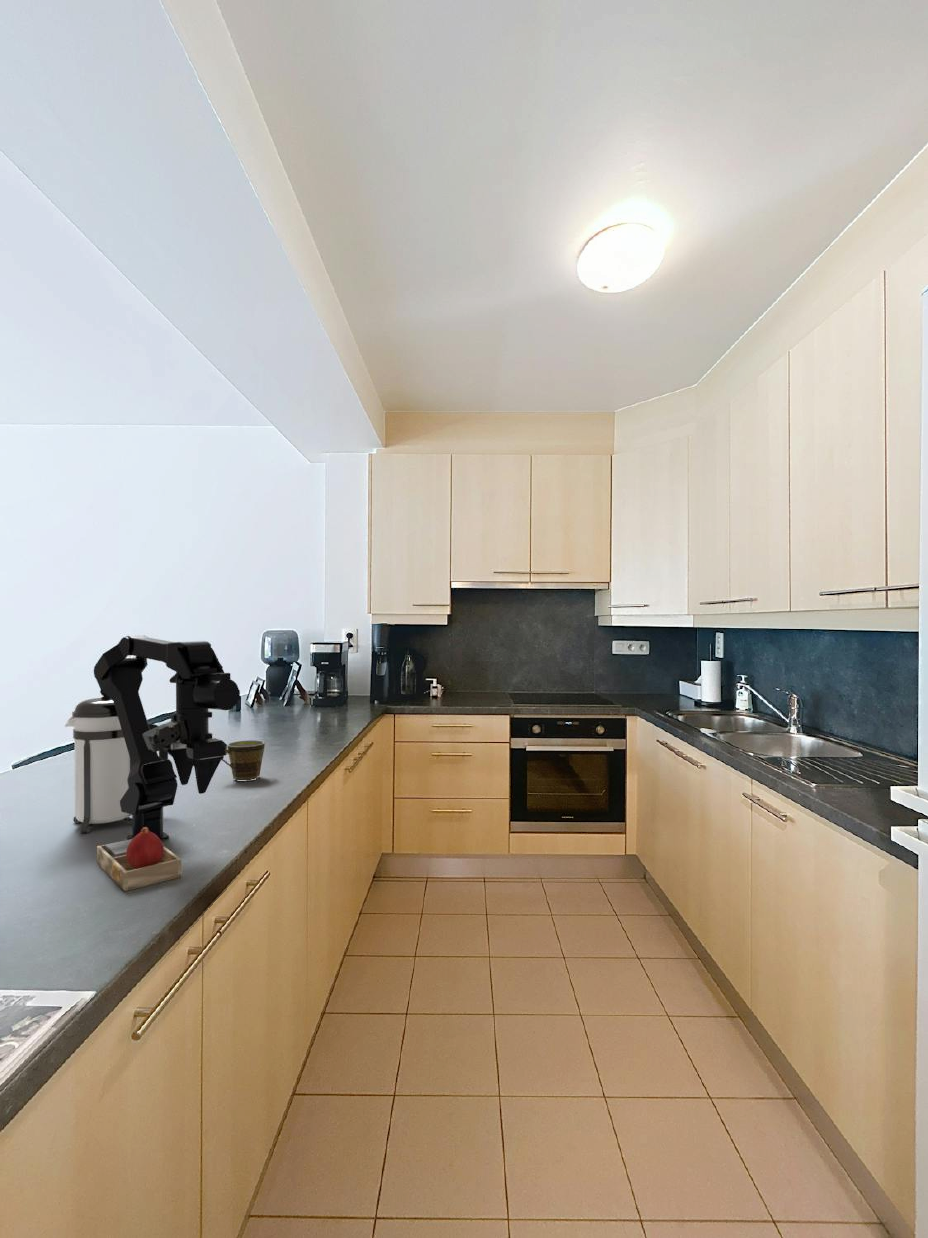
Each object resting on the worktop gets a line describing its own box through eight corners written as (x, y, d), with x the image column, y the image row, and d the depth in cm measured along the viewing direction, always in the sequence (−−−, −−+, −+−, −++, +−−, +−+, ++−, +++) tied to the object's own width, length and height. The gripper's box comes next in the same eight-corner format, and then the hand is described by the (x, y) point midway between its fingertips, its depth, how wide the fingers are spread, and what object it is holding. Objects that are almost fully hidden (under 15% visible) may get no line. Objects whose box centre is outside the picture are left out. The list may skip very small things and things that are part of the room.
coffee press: (116, 836, 135) (115, 690, 135) (49, 832, 138) (49, 689, 138) (170, 812, 152) (169, 682, 152) (109, 809, 155) (109, 682, 155)
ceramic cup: (256, 773, 191) (256, 739, 191) (270, 779, 184) (270, 743, 184) (211, 780, 183) (211, 744, 183) (224, 787, 175) (224, 749, 175)
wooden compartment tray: (95, 863, 120) (95, 845, 120) (149, 851, 126) (149, 833, 126) (123, 891, 107) (123, 871, 107) (181, 876, 113) (181, 857, 113)
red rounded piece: (122, 872, 114) (122, 826, 114) (158, 864, 117) (157, 819, 117) (131, 882, 109) (130, 834, 109) (168, 873, 113) (167, 827, 113)
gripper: (132, 706, 127) (132, 787, 127) (164, 716, 113) (164, 807, 113) (191, 701, 135) (191, 778, 134) (227, 710, 121) (228, 795, 121)
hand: (192, 788), depth 125 cm, fingers open, 9 cm apart
